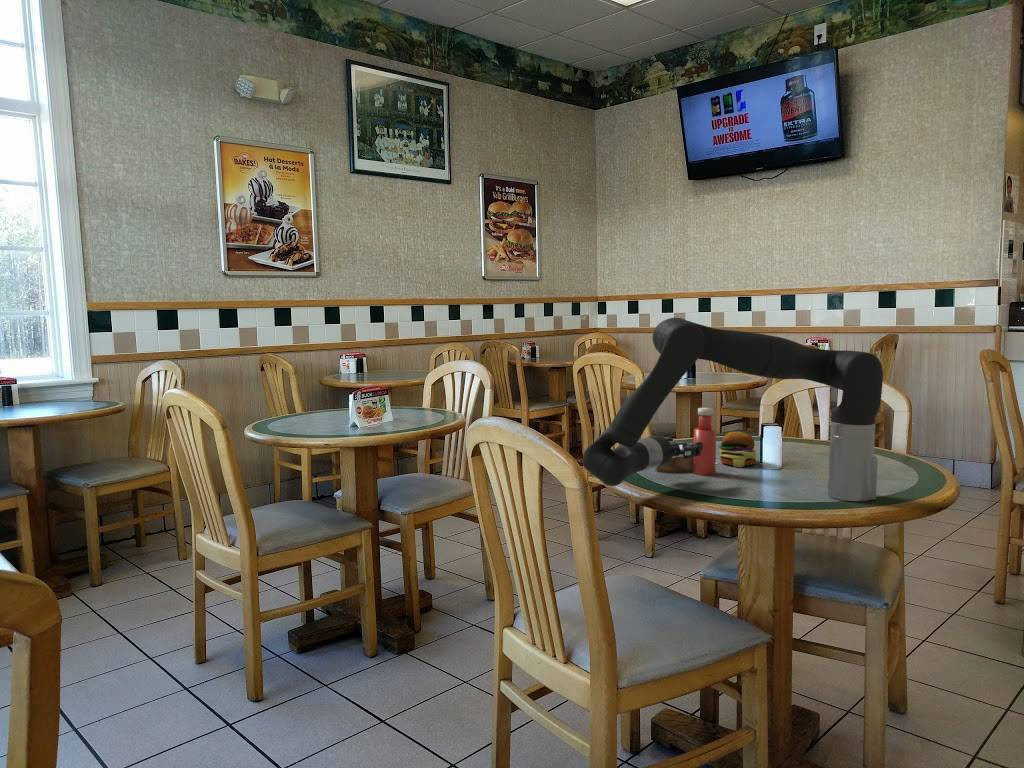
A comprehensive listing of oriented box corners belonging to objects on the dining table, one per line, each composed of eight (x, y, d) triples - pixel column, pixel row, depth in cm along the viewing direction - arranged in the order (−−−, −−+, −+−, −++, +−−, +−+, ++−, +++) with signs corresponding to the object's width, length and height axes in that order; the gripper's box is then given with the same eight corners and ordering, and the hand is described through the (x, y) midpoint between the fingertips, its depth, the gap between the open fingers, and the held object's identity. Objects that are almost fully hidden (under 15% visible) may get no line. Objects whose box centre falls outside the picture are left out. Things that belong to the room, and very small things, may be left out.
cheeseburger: (719, 466, 204) (718, 430, 205) (717, 468, 214) (717, 433, 216) (758, 467, 202) (757, 430, 203) (755, 469, 212) (754, 433, 213)
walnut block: (686, 463, 209) (686, 449, 209) (694, 471, 199) (695, 456, 199) (650, 463, 209) (650, 449, 209) (656, 471, 199) (657, 456, 199)
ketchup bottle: (712, 470, 200) (713, 407, 198) (717, 475, 195) (719, 410, 193) (691, 470, 200) (692, 407, 198) (696, 475, 195) (697, 410, 193)
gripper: (674, 441, 173) (711, 432, 185) (624, 434, 183) (662, 426, 195) (674, 473, 174) (711, 462, 185) (624, 464, 184) (662, 454, 196)
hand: (686, 444), depth 190 cm, fingers open, 8 cm apart
